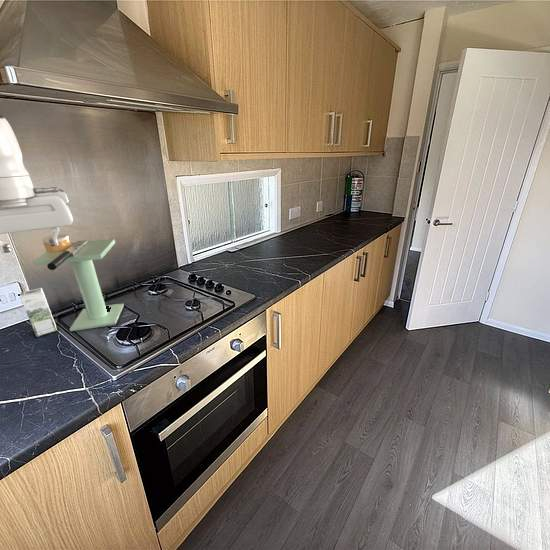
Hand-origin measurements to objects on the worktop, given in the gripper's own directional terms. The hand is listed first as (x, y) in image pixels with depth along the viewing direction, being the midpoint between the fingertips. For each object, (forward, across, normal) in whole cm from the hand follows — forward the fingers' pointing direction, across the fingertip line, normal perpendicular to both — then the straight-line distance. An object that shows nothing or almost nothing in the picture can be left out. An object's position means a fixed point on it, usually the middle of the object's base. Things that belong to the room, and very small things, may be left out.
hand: (31, 248), depth 71 cm
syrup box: (+34, +9, -22) cm, 41 cm away
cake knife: (+7, -5, -16) cm, 18 cm away
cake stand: (+33, -6, -22) cm, 41 cm away
